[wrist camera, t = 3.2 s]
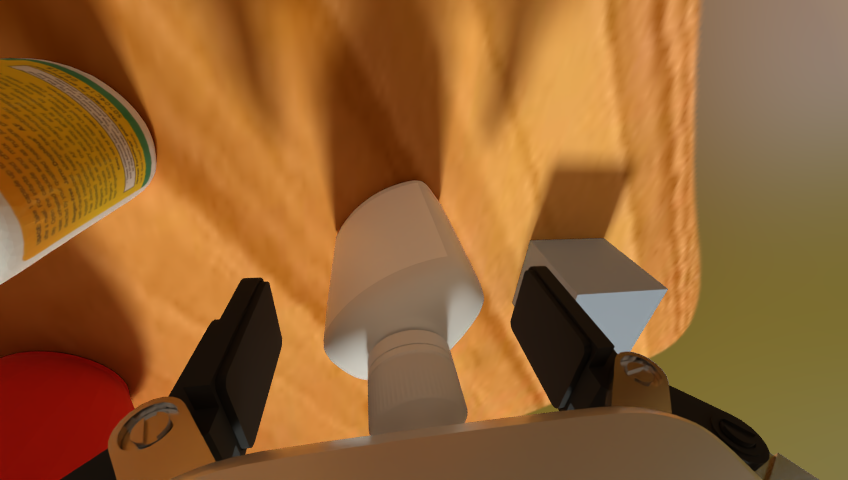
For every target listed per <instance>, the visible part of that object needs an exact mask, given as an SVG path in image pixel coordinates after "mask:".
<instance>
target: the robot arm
mask: <svg viewBox="0 0 848 480" xmlns="http://www.w3.org/2000/svg"><path fill="white" fill-rule="evenodd" d="M511 328H512V330H513V332H514V334H515V336H516V338H517V340H518V342H519V344H520V345H521V347H522V349H523V351H524V353H525V355H526V357H527V359H528V360H529V362H530V364H531V366H532V368H533V370H534V372H535V374H536V375H537V377H538V379H539V381H540V383H541V385H542V387H543V389H544V390H545V392H546V394H547V396H548V398H549V400H550V402H551V404H552V405H553V406H554V407H555V408H558V409H559V411H558V412H549V413H541V414H533V415H525V416H517V417H509V418H501V419H493V420H485V421H477V422H470V423H462V424H454V425H446V426H439V427H431V428H423V429H416V430H408V431H401V432H393V433H386V434H379V435H371V436H364V437H356V438H349V439H342V440H334V441H327V442H320V443H313V444H306V445H300V446H293V447H287V448H280V449H274V450H267V451H261V452H256V453H251V454H246V455H245V453H246V450H247V448H252V447H253V445H254V442H255V439H256V435H257V432H258V428H259V425H260V421H261V418H262V414H263V411H264V407H265V404H266V400H267V397H268V393H269V389H270V386H271V382H272V379H273V375H274V372H275V368H276V365H277V361H278V358H279V354H280V351H281V347H282V336H281V332H280V327H279V323H278V319H277V314H276V310H275V306H274V301H273V297H272V293H271V288H270V284H269V282H264V281H263V279H262V278H243V279H242V280H241V281H240V283H239V285H238V287H237V289H236V291H235V292H234V294H233V296H232V298H231V300H230V302H229V303H228V305H227V307H226V309H225V311H224V313H223V314H222V316H221V318H220V319H219V320H214V321H212V322H211V324H210V325H209V327H208V328H207V330H206V332H205V334H204V335H203V337H202V339H201V341H200V342H199V344H198V346H197V348H196V349H195V351H194V353H193V355H192V356H191V358H190V360H189V362H188V363H187V365H186V367H185V369H184V370H183V372H182V374H181V376H180V377H179V379H178V381H177V383H176V384H175V386H174V388H173V390H172V391H171V393H170V395H169V397H161V398H157V399H153V400H151V401H149V402H146V403H144V404H142V405H140V406H139V407H137V408H136V409H134V410H133V411H131V412H129V413H128V414H127V415H126V416H125V417H124V418H123V419H122V420H121V421H120V422H119V423H118V424H117V426H116V427H115V428H114V430H113V431H112V433H111V435H110V438H109V440H108V448H107V449H106V450H104V451H103V452H101V453H100V454H98V455H97V456H95V457H94V458H92V459H91V460H89V461H88V462H86V463H84V464H83V465H81V466H80V467H78V468H77V469H75V470H74V471H72V472H71V473H69V474H68V475H66V476H65V477H63V478H61V479H60V480H819V479H817V478H816V477H814V476H813V475H811V474H810V473H808V472H807V471H805V470H804V469H802V468H800V467H799V466H797V465H796V464H794V463H793V462H791V461H790V460H788V459H787V458H785V457H784V456H782V455H780V454H779V453H777V454H775V455H772V454H771V453H770V452H769V450H768V448H767V445H766V444H765V442H764V441H763V440H762V438H761V437H760V436H759V435H758V434H757V433H756V432H755V431H754V430H753V429H752V428H751V427H750V426H748V425H747V424H745V423H744V422H743V421H742V420H740V419H738V418H736V417H734V416H733V415H731V414H729V413H727V412H724V411H722V410H720V409H718V408H716V407H714V406H712V405H709V404H708V403H705V402H703V401H701V400H699V399H697V398H695V397H693V396H691V395H689V394H686V393H684V392H682V391H680V390H678V389H676V388H674V387H672V386H669V382H668V379H667V376H666V374H665V373H664V372H663V370H662V369H661V368H660V367H659V366H658V365H657V364H656V363H654V362H653V361H651V360H650V359H649V358H647V357H645V356H643V355H641V354H637V353H634V352H620V353H619V354H617V352H616V351H615V350H614V347H615V346H614V345H613V344H612V342H611V341H610V340H609V339H608V338H607V337H606V335H605V334H604V333H603V332H602V331H601V330H600V328H599V327H598V326H597V325H596V324H595V322H594V321H593V320H592V319H591V318H590V317H589V315H588V314H587V313H586V312H585V311H584V310H583V308H582V307H581V306H580V305H579V304H578V303H577V301H576V300H575V299H574V298H573V297H572V296H571V294H570V293H569V292H568V291H567V290H566V288H565V287H564V286H563V285H562V284H561V283H560V281H559V280H558V279H557V278H556V277H555V276H554V274H553V273H552V272H551V271H550V270H549V269H548V268H547V267H546V266H531V267H529V269H528V270H526V271H525V272H524V275H523V279H522V283H521V286H520V290H519V293H518V297H517V300H516V304H515V307H514V311H513V314H512V318H511Z"/></svg>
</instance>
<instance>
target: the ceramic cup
mask: <svg viewBox="0 0 848 480" xmlns="http://www.w3.org/2000/svg"><path fill="white" fill-rule="evenodd" d="M133 410H134V406H133V404H132V401H131V399H130V397H129V389H128V386H127V384H126V383H125V382H124V381H123V379H122V378H121V377H120V376H118V375H117V374H116V373H115V372H114V371H112V370H110V369H109V368H107V367H105V366H103V365H101V364H99V363H96V362H94V361H92V360H88V359H85V358H82V357H79V356H74V355H70V354H65V353H57V352H42V351H32V352H22V353H16V354H12V355H7V356H4V357H2V358H0V480H60V479H61V478H63V477H65V476H66V475H68V474H69V473H71V472H72V471H74V470H75V469H77V468H78V467H80V466H81V465H83V464H84V463H86V462H88V461H89V460H91V459H92V458H94V457H95V456H97V455H98V454H100V453H101V452H103V451H104V450H106V449H107V448H108V440H109V438H110V435H111V433H112V431H113V430H114V428H115V427H116V426H117V424H118V423H119V422H120V421H121V420H122V419H123V418H124V417H125V416H126V415H127V414H128V413H129V412H131V411H133Z"/></svg>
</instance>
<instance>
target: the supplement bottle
mask: <svg viewBox="0 0 848 480" xmlns="http://www.w3.org/2000/svg"><path fill="white" fill-rule="evenodd" d="M155 171H156V153H155V147H154V142H153V139H152V137H151V134H150V131H149V129H148V128H147V126H146V124H145V122H144V121H143V119H142V118H141V117H140V115H139V114H138V112H137V111H136V110H135V109H134V108H133V107H132V106H131V105H130V104H129V103H128V102H127V101H126V100H125V99H124V98H123V97H122V96H121V95H120V94H118V93H117V92H116V91H115V90H113V89H112V88H111V87H109V86H108V85H106V84H105V83H103V82H102V81H100V80H99V79H97V78H95V77H94V76H92V75H90V74H87V73H85V72H82V71H80V70H78V69H75V68H73V67H71V66H67V65H64V64H60V63H56V62H52V61H47V60H40V59H31V58H0V285H1V284H2V283H4V282H5V281H7V280H9V279H10V278H12V277H13V276H15V275H17V274H18V273H20V272H21V271H23V270H24V269H26V268H27V267H29V266H30V265H32V264H33V263H35V262H36V261H38V260H39V259H41V258H42V257H44V256H45V255H47V254H48V253H50V252H51V251H53V250H54V249H56V248H58V247H59V246H61V245H62V244H64V243H65V242H67V241H68V240H70V239H71V238H73V237H74V236H76V235H77V234H79V233H80V232H82V231H83V230H85V229H87V228H88V227H90V226H91V225H93V224H94V223H96V222H97V221H99V220H101V219H102V218H104V217H105V216H107V215H108V214H110V213H111V212H113V211H114V210H116V209H117V208H119V207H121V206H122V205H124V204H126V203H127V202H129V201H130V200H131V199H133V198H134V197H136V196H137V195H138V194H140V193H141V192H142V191H143V190H144V189H145V188H146V187H147V186H148V185H149V184H150V182H151V180H152V178H153V176H154V174H155Z"/></svg>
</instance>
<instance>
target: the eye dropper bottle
mask: <svg viewBox="0 0 848 480" xmlns="http://www.w3.org/2000/svg"><path fill="white" fill-rule="evenodd" d="M483 301H484V296H483V291H482V288H481V285H480V283H479V280H478V278H477V276H476V274H475V272H474V270H473V268H472V265H471V263H470V261H469V259H468V257H467V255H466V253H465V251H464V249H463V247H462V245H461V243H460V241H459V239H458V237H457V235H456V233H455V231H454V229H453V227H452V225H451V223H450V221H449V219H448V217H447V215H446V213H445V212H444V210H443V208H442V206H441V204H440V203H439V201H438V200H437V198H436V197H435V195H434V194H433V192H432V191H431V190H430V188H429V187H428V186H427V185H426V184H425V183H424V182H422V181H417V180H413V181H407V182H403V183H400V184H397V185H394V186H391V187H388V188H386V189H384V190H382V191H380V192H378V193H376V194H375V195H373V196H371V197H370V198H368V199H367V200H366V201H364V202H363V203H362V204H361V205H359V206H358V207H357V208H356V209H355V210H354V211H353V212H352V213H351V215H350V216H349V217H348V218H347V220H346V221H345V222H344V224H343V225H342V227H341V228H340V230H339V232H338V234H337V236H336V242H335V249H334V257H333V264H332V272H331V280H330V287H329V295H328V303H327V311H326V321H325V331H324V350H325V352H326V354H327V355H328V357H329V359H330V360H331V361H332V362H333V363H334V364H336V365H337V366H338V367H339V368H341V369H342V370H343V371H345V372H347V373H348V374H350V375H352V376H354V377H356V378H360V379H366V380H368V415H369V434H370V435H379V434H386V433H393V432H401V431H408V430H416V429H423V428H431V427H439V426H446V425H454V424H462V423H465V420H466V418H467V413H468V412H467V407H466V403H465V400H464V396H463V393H462V390H461V386H460V383H459V379H458V376H457V372H456V369H455V366H454V362H453V359H452V355H451V352H450V349H452V348H453V346H454V345H455V344H456V343H457V342H458V341H459V340H460V339H461V338H462V336H463V335H464V334H465V333H466V331H467V330H468V329H469V327H470V326H471V325H472V323H473V322H474V320H475V319H476V317H477V316H478V314H479V312H480V310H481V307H482V304H483Z"/></svg>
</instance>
